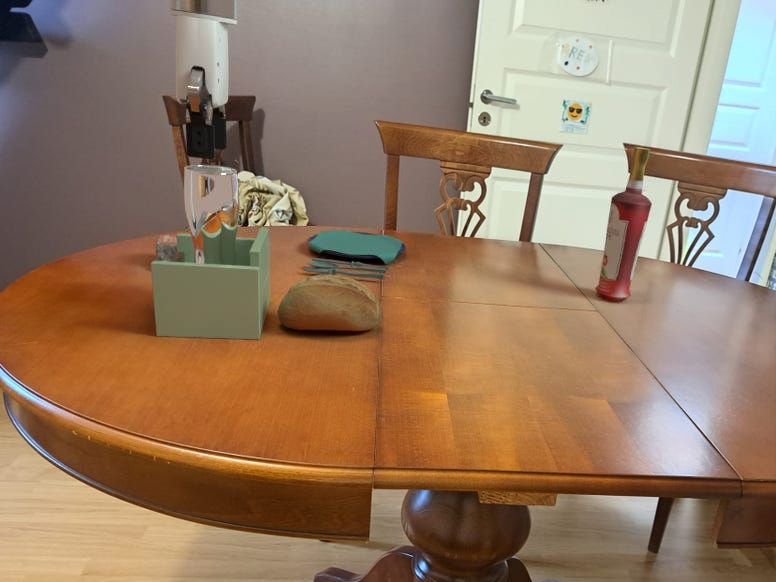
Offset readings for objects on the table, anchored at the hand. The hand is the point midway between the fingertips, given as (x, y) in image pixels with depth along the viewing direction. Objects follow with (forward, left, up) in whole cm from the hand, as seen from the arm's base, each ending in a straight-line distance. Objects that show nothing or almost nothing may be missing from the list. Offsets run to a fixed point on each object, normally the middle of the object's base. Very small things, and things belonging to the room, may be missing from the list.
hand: (207, 152), depth 87 cm
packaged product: (-5, +26, -23) cm, 35 cm away
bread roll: (+16, -3, -23) cm, 29 cm away
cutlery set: (+20, +36, -23) cm, 48 cm away
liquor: (+69, +19, -23) cm, 76 cm away
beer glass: (0, 0, -17) cm, 17 cm away
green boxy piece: (0, 0, -23) cm, 23 cm away
